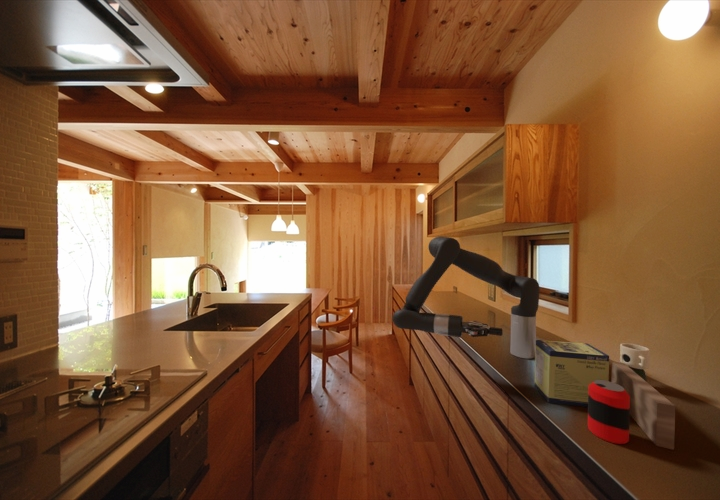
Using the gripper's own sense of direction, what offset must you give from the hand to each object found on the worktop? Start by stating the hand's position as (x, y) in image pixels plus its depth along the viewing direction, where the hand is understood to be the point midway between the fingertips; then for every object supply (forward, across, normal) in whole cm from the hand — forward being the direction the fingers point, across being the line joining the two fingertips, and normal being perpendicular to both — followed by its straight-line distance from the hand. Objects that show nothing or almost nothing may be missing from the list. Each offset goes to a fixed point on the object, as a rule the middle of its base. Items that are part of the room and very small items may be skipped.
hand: (502, 332), depth 93 cm
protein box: (+18, 0, +18) cm, 25 cm away
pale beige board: (+33, -4, +17) cm, 37 cm away
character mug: (+40, +19, +17) cm, 48 cm away
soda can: (+23, -17, +18) cm, 33 cm away
